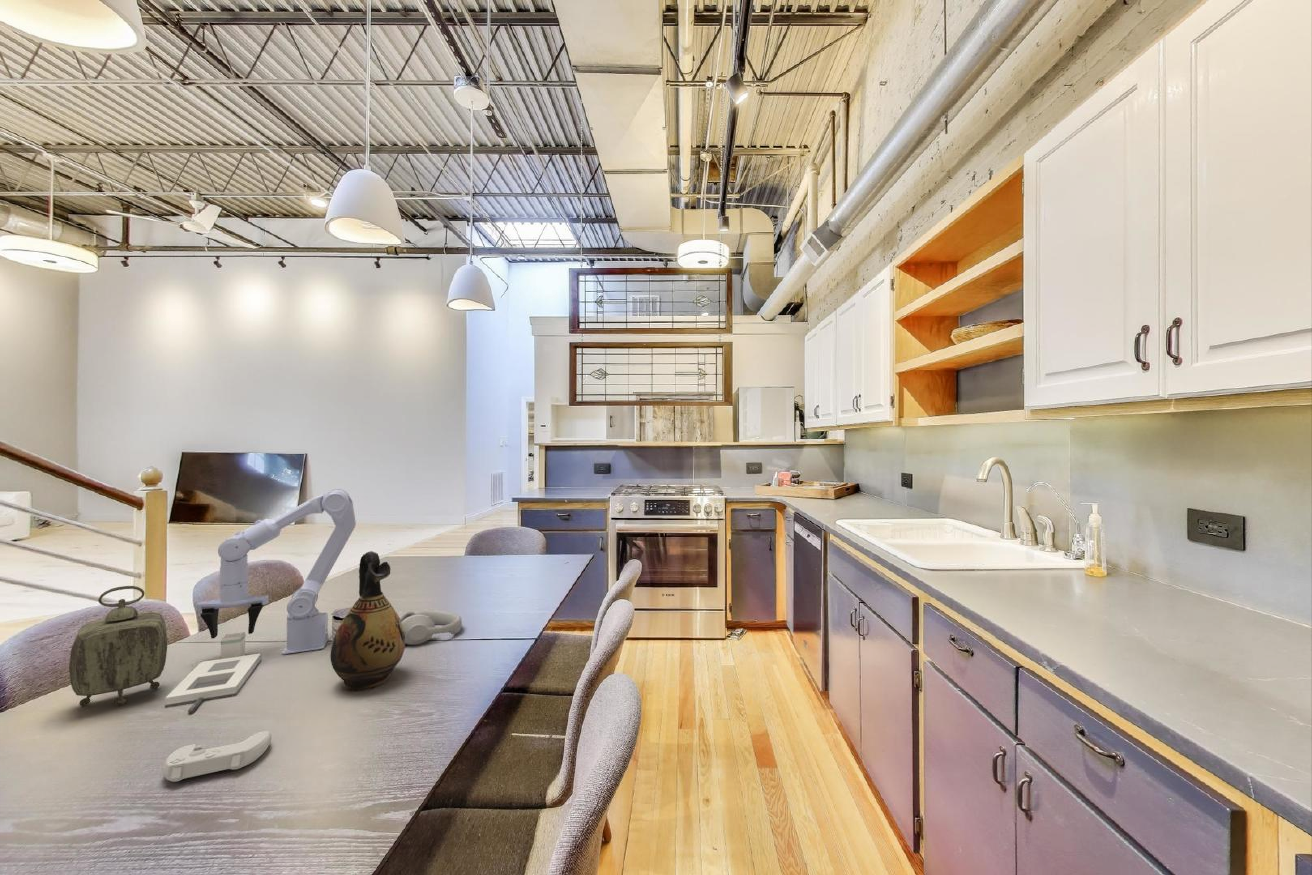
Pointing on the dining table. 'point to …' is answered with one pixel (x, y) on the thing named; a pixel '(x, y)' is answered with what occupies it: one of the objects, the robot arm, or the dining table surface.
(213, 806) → the dining table surface
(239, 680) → the power strip
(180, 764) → the game controller
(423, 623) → the headphones
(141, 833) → the dining table surface
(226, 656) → the block
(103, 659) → the tabletop clock
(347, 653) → the ceramic jug
